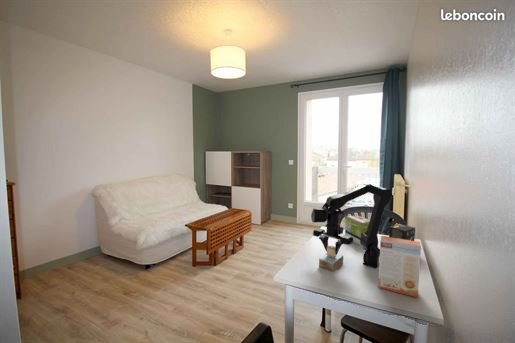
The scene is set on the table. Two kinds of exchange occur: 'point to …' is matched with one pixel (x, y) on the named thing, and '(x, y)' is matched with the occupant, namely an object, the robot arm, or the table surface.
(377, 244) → the robot arm
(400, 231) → the tampon box
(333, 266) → the walnut box
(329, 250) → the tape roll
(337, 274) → the table surface
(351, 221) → the tea box
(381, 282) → the cracker box
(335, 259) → the lid
